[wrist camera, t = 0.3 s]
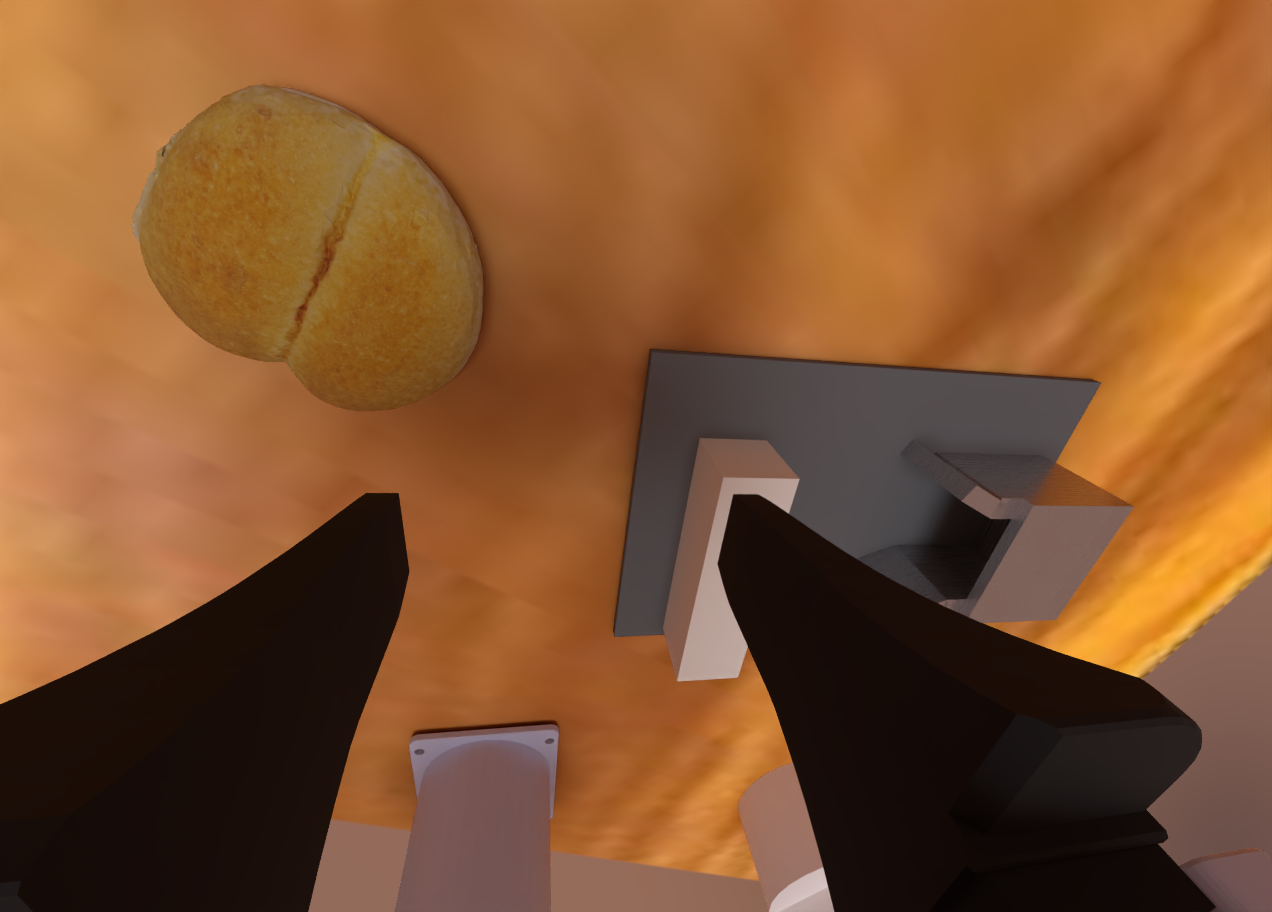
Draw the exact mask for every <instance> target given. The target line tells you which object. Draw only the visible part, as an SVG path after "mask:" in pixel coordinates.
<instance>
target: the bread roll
mask: <svg viewBox="0 0 1272 912" xmlns="http://www.w3.org/2000/svg"><path fill="white" fill-rule="evenodd" d="M461 212H462V211H461V209H460V208H459V207H458V206H457V205H456V203H455V202H454V200H453V199H452V197H451V196H450V194H449V193H448V191H447V189H446V188H445V186H444V184H443V183H442V182H441V181H440V179H438V178H437V176H436V175H435V174H434V173H433V172H432V171H431V169H430V168H429V167H428V166H427V165H426V164H425V163H424V162H423V161H422V160H421V159H420V158H419V157H418V156H417V155H415V154H414V153H413V152H412V151H410V150H409V149H408V148H406V147H405V146H403V145H401V144H400V143H398V142H396V141H395V140H393V139H392V138H390V137H388V136H386V135H385V134H383V133H382V132H381V131H379V130H378V129H377V128H376V127H374V126H373V125H371V124H370V123H368V122H366V121H365V120H364V119H362V118H361V117H360V116H358V115H357V114H355V113H353V112H351V111H349V110H348V109H346V108H344V107H342V106H340V105H338V104H335V103H333V102H331V101H328V100H325V99H323V98H320V97H317V96H315V95H312V94H308V93H305V92H301V91H297V90H293V89H290V88H281V87H273V86H268V85H255V86H249V87H246V88H244V89H241V90H239V91H236V92H234V93H231V94H229V95H226V96H224V97H222V98H221V100H220V101H218V102H216V103H214V104H212V105H211V106H210V107H208V108H207V109H206V110H204V111H203V112H201V113H200V114H198V115H197V116H196V117H195V118H194V119H193V120H192V121H191V122H190V123H188V124H186V127H185V128H183V129H182V130H180V131H179V132H177V133H176V134H174V135H173V137H171V138H170V141H169V143H168V144H166V145H165V146H164V147H162V148H161V149H160V150H158V151H157V155H156V166H155V170H154V171H153V172H152V173H150V174H149V176H148V180H147V183H146V185H145V187H144V189H143V191H142V195H141V198H140V201H139V203H138V205H137V206H136V208H135V211H134V215H133V224H132V226H133V233H134V235H135V236H136V238H137V239H138V241H139V242H140V247H141V252H142V255H143V259H144V262H145V265H146V268H147V271H148V273H149V276H150V278H151V279H152V281H153V283H154V284H155V286H156V288H157V290H158V291H159V293H160V294H161V296H162V297H163V299H164V300H165V301H166V303H167V304H168V305H169V307H170V308H171V309H172V310H173V312H174V313H175V314H176V315H177V317H178V318H179V319H181V320H182V321H183V322H184V323H185V324H186V325H187V326H188V327H189V328H190V329H192V330H193V331H194V332H195V333H197V334H198V335H199V336H200V337H202V338H203V339H204V340H206V341H207V342H209V343H211V344H213V345H215V346H216V347H218V348H220V349H222V350H224V351H227V352H230V353H232V354H235V355H239V356H242V357H246V358H250V359H254V360H259V361H265V362H287V364H288V366H289V367H290V369H291V370H292V371H293V372H294V374H295V375H296V377H297V378H298V379H299V380H300V381H301V383H302V384H303V385H304V386H305V387H306V388H307V389H308V390H309V391H310V393H311V394H313V395H314V396H316V397H317V398H319V399H321V400H323V401H324V402H326V403H329V404H332V405H334V406H337V407H340V408H344V409H348V410H355V411H375V410H388V409H395V408H398V407H401V406H404V405H407V404H411V403H414V402H417V401H419V400H420V399H422V398H423V397H425V396H427V395H429V394H430V393H432V392H434V391H436V390H437V389H439V388H440V387H442V386H443V385H445V384H446V383H448V382H449V381H450V380H451V379H453V378H454V377H455V376H456V375H457V374H458V373H459V371H460V370H461V369H462V368H463V367H464V366H465V364H466V362H467V361H468V359H469V357H470V355H471V354H472V352H473V350H474V348H475V346H476V343H477V341H478V337H479V333H480V329H481V321H482V312H483V294H484V283H483V269H482V265H481V260H480V256H479V253H478V249H477V245H476V243H475V242H474V239H473V236H472V232H471V230H470V228H469V226H468V224H467V222H466V220H465V218H464V217H463V215H462V213H461Z"/></svg>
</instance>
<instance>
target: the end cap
mask: <svg viewBox="0 0 1272 912" xmlns="http://www.w3.org/2000/svg"><path fill="white" fill-rule="evenodd" d="M901 455H902V456H903V457H905V458H906V459H907V460H909V461H910V462H911V463H913V464H914V465H915V466H916V467H918V468H919V469H920V470H922V471H923V472H924V473H926V474H927V475H928V476H929V477H931V478H932V479H933V480H935V481H936V482H937V483H939V484H940V485H941V486H942V487H944V488H945V489H946V490H948V491H949V492H950V493H951V494H953V495H954V496H955V497H957V498H958V499H959V500H961V501H962V502H964V503H965V504H967V505H969V506H970V507H972V508H974V509H975V510H977V511H979V512H980V513H982V514H984V515H985V516H987V517H988V518H990V521H989V523H988V525H987V527H986V529H985V531H984V532H983V534H982V536H981V538H980V540H979V542H978V543H977V544H932V545H893V546H890V547H887V548H884V549H882V550H879V551H876V552H873V553H871V554H868V555H865V556H862V557H860V558H858V560H859V561H861V562H863V563H864V564H866V565H868V566H869V567H871V568H872V569H874V570H876V571H877V572H879V573H881V574H883V575H884V576H886V577H888V578H890V579H892V580H893V581H895V582H897V583H899V584H901V585H903V586H905V587H907V588H909V589H911V590H912V591H914V592H916V593H918V594H920V595H922V596H924V597H926V598H928V599H930V600H932V601H934V602H936V603H938V604H940V605H943V606H945V607H947V608H949V609H951V610H954V611H956V612H958V613H960V614H963V615H965V616H967V617H969V618H972V619H974V620H976V621H978V622H981V623H994V622H1017V621H1039V620H1056V619H1057V618H1058V616H1059V615H1060V613H1061V612H1062V610H1063V609H1064V607H1065V606H1066V605H1067V603H1068V602H1069V600H1070V599H1071V597H1072V596H1073V594H1074V593H1075V591H1076V590H1077V589H1078V587H1079V586H1080V584H1081V583H1082V581H1083V580H1084V578H1085V577H1086V576H1087V574H1088V573H1089V571H1090V570H1091V568H1092V567H1093V565H1094V564H1095V563H1096V561H1097V560H1098V558H1099V557H1100V555H1101V554H1102V552H1103V551H1104V550H1105V548H1106V547H1107V545H1108V544H1109V542H1110V541H1111V539H1112V538H1113V537H1114V535H1115V534H1116V532H1117V531H1118V529H1119V528H1120V526H1121V525H1122V524H1123V522H1124V521H1125V519H1126V518H1127V516H1128V515H1129V513H1130V512H1131V511H1132V509H1133V508H1134V506H1133V505H1131V504H1129V503H1127V502H1125V501H1124V500H1122V499H1120V498H1118V497H1116V496H1115V495H1113V494H1111V493H1109V492H1107V491H1105V490H1104V489H1102V488H1100V487H1098V486H1096V485H1095V484H1093V483H1091V482H1089V481H1087V480H1086V479H1084V478H1082V477H1080V476H1078V475H1077V474H1075V473H1073V472H1071V471H1069V470H1068V469H1066V468H1064V467H1062V466H1060V465H1059V464H1057V463H1055V462H1053V461H1051V460H1050V459H1048V458H1046V457H1044V456H1041V455H1010V454H979V453H948V452H936V453H935V454H933V453H932V452H930V451H929V450H927V449H926V448H924V447H923V446H921V445H919V444H918V443H916V442H915V441H913V440H912V441H911V442H910V443H909V445H908V446H907V447H906V448H905V449H904V450H903V451H902V452H901Z"/></svg>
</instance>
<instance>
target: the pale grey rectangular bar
mask: <svg viewBox="0 0 1272 912" xmlns="http://www.w3.org/2000/svg"><path fill="white" fill-rule="evenodd" d="M798 483H799V478H798V476H797V475H796V474H795V473H794V472H793V471H792V469H791V468H790V467H789V466H788V465H787V464H786V462H785V461H784V460H783V459H782V458H781V456H780V455H779V454H778V453H777V452H776V451H775V449H774V448H773V447H772V446H771V445H770V444H769V442H768V441H767V440H743V439H714V438H700V439H699V445H698V450H697V455H696V460H695V465H694V470H693V475H692V481H691V486H690V491H689V496H688V501H687V506H686V511H685V517H684V522H683V527H682V532H681V537H680V542H679V547H678V553H677V558H676V563H675V568H674V573H673V578H672V584H671V589H670V594H669V599H668V604H667V609H666V614H665V620H664V625H663V630H664V634H665V638H666V642H667V646H668V649H669V653H670V657H671V661H672V665H673V668H674V672H675V676H676V680H677V681H691V680H707V679H723V678H738V676H739V673H740V669H741V666H742V663H743V660H744V656H745V653H746V650H747V647H748V646H747V643H746V641H745V639H744V637H743V635H742V632H741V630H740V628H739V626H738V623H737V621H736V619H735V617H734V614H733V612H732V610H731V607H730V605H729V603H728V599H727V596H726V593H725V590H724V586H723V583H722V579H721V576H720V572H719V568H718V565H717V563H718V559H719V554H720V550H721V546H722V541H723V537H724V532H725V528H726V524H727V519H728V515H729V511H730V506H731V502H732V497H733V494H759V495H761V496H762V497H764V498H766V499H767V500H769V501H771V502H772V503H774V504H775V505H777V506H778V507H780V508H781V509H783V510H784V511H786V512H787V513H789V511H790V508H791V505H792V502H793V499H794V495H795V492H796V489H797V486H798Z"/></svg>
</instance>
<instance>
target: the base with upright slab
mask: <svg viewBox="0 0 1272 912" xmlns="http://www.w3.org/2000/svg"><path fill="white" fill-rule="evenodd" d="M738 811H739V815H740V818H741V821H742V824H743V828H744V831H745V834H746V837H747V841H748V844H749V847H750V851H751V854H752V857H753V860H754V864H755V867H756V870H757V873H758V877H759V880H760V883H761V886H762V890H763V893H764V896H765V900H766V902H767V906H768V909H769V912H834V909H833V905H832V901H831V897H830V893H829V889H828V885H827V881H826V877H825V873H824V869H823V865H822V861H821V857H820V854H819V850H818V847H817V843H816V840H815V836H814V832H813V829H812V825H811V822H810V818H809V814H808V811H807V807H806V804H805V800H804V797H803V794H802V791H801V787H800V784H799V781H798V778H797V774H796V771H795V768H794V765H793V763H790V764H787V765H784V766H781V767H779V768H777V769H775V770H773V771H771V772H769V773H767V774H765V775H764V776H762V777H761V778H759V779H758V780H756V781H755V782H754V783H753V784H752V785H751V786H750V787H749V788H748V789H747V790H746V791H745V792H744V794H743V795H742V797H741V799H740V800H739V805H738Z"/></svg>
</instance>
